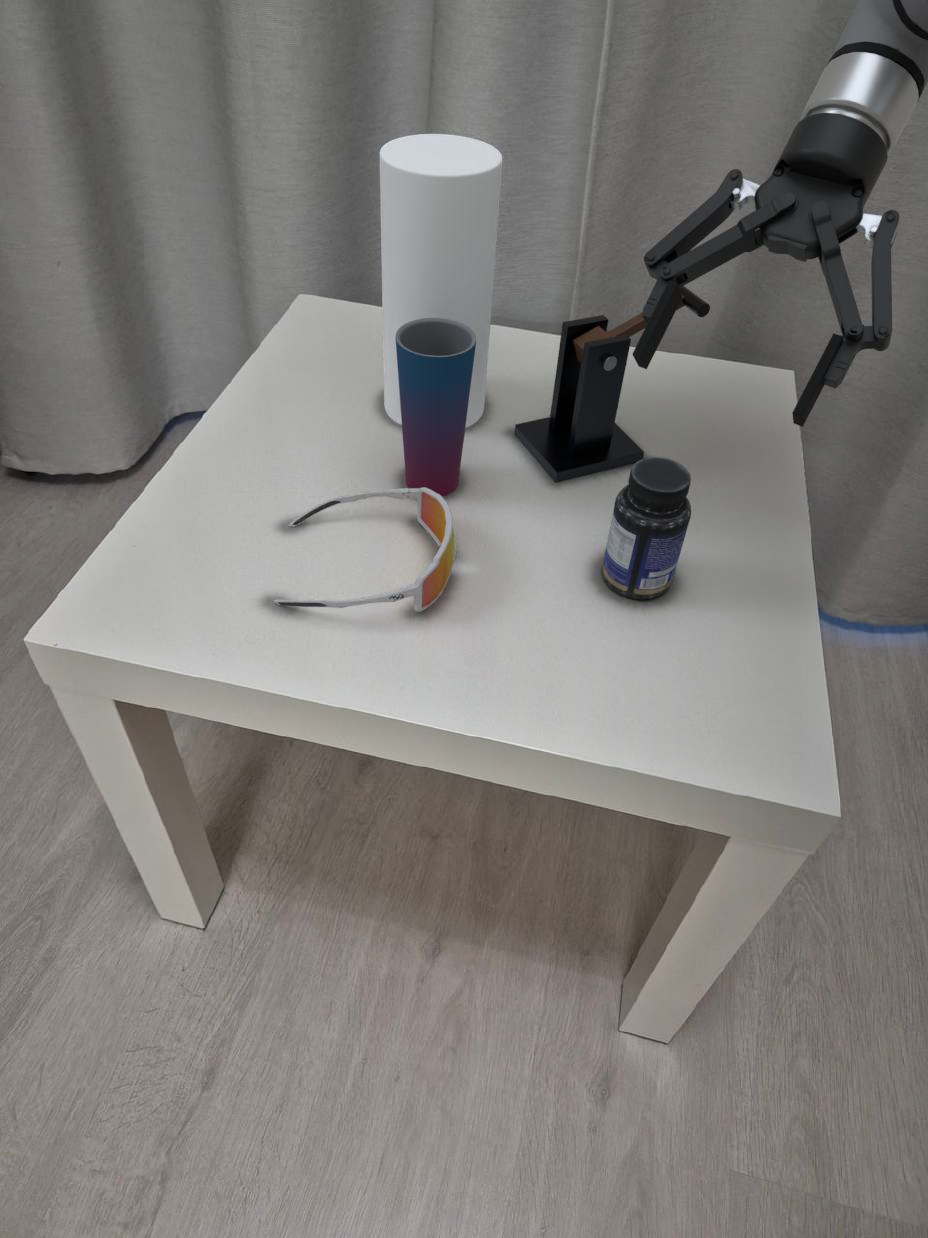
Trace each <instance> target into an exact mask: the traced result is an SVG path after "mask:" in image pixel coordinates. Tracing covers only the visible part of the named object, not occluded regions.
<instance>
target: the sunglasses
mask: <svg viewBox="0 0 928 1238" xmlns="http://www.w3.org/2000/svg"><path fill="white" fill-rule="evenodd" d="M377 497H380V498H381V497H386V498H393V499H398V500H405V499H411V500H416V506H417V507H416V509H417V510H416V511H417V512H416V513H417V514H416V520H417V523H419V524H420V525H421V526H422V528H424V529H425V530H426V532H427V533H428V535H430V537H432V538H433V540H434V541H435V544H437V546H438V548H437V552H436V554H435V555H434V556H433V558H432V562H431V563H430V564H429V566H427V568H426V569H425V570H424V571H423V572H422V573H421V574H420V575H419V576H418V577H417V578H416V579H415V581H414V582H413V583H411V584H408V585H405V586H402V587H399V588H395V589H393V590H389V591H386V592H383V593H379V594H375V595H369V596H364V597H360V598H351V599H341V600H340V599H339V600H335V599H274V600H273V603H275V604H276V605H278V606H281V607H294V608H296V607H297V608H299V607H300V608H330V609H331V608H335V609H344V608H349V607H354V606H361V605H367V604H379V603H396V602H399V601H401V600H404V599H407V598H411V597H413V611H414V612H416V613H420V612H421V613H422V612H423V611H425V610H427V609H428V608H429V607H431V606H432V605H433V604H434V603H435V602H437V600H438V599H439V597H440V596H441V595H442V593H443V592H444V590H445V588H446V587H447V584H448V582H449V580H450V577H451V573H452V572H453V567H454V564H455V560H456V557H457V549H458V543H457V541H455V534H454V526H453V525H454V518H453V515H452V510H451V508H450V506H449V504H448V502H447V501H446V500H445V498H444V496H441V495H440V494H439V493H438V494H437V493H435V492H434V491H432V490H430V489H428V488H426V487H422V488H408V487H403V488H401V487H400V488H388V489H379V490H378V489H377V490H369V491H364V492H359V493H352V494H345V495H339V496H336V497H333V498H330V499H328V500H326V501H323V502H321V503H319V504H317V505H315V506H314V507H312V508H310V509H308V510H307V511H305V512H304V513H302V514H301V515H299V516H298V517H296V518H295V519H293V520H292V521H291V522H289V524H288V526H289V527H291V528H295V527H297V526H299V525H300V524H302V523H303V522H305V521H306V520H308V519H310V518H311V517H313V516H315V515H316V514H319V513H320V512H322V511H325V510H327V509H329V508H331V507H334V506H337V505H342V504H346V503H354V502H359V501H361V500H365V499H371V498H377Z"/></svg>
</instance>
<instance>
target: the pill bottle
mask: <svg viewBox="0 0 928 1238" xmlns="http://www.w3.org/2000/svg"><path fill="white" fill-rule="evenodd" d="M627 481H628V482H627V483H628V484H627V485H625V486H624V487H623V488H622V489H621V490H620V491H619V492H618V493H617V495H616V497H615V501H614V506H613V511H612V516H611V520H610V526H609V531H608V535H607V541H606V546H605V550H604V557H603V560H602V566H601V576H602V579H603V581H604V583H605V584H606V585H607V587H608V588H609V589H610V590H612V591H613V592H614V593H616V594H618V595H620V596H622V597H626V598H630V599H635V600H651V599H652V600H653V599H655V598H658V597H660V596H663V595H664V594H665V593H666V592H667V591H668V590H669V589H670V588H671V585H672V584H673V581H674V576H675V572H676V570H677V566H678V562H679V558H680V555H681V552H682V548H683V545H684V542H685V538H686V534H687V531H688V527H689V524H690V520H691V518H692V517H691V515H692V505H691V502H690V501H689V498H688V494H689V492H690V486H691V482H692V476H691V473H690V471H689V470H688V469H687V467H686V466H684V465H683V464H681V463H679V462H677V461H676V460H673V459H670V458H667V457H660V456H651V457H645V458H643V459H642V460H639V461H637V462H636V463H634V464H632V466H631V469H630V472H629V476H628V480H627Z"/></svg>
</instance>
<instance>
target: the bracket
mask: <svg viewBox="0 0 928 1238" xmlns="http://www.w3.org/2000/svg"><path fill="white" fill-rule="evenodd" d="M608 325H609V318H608V317H606V316H605V315H604V314H600V315H595V316H589V317H583V318H579V319H573V320H572V319H571V320H566V321H563V322H562V325H561V326H562V327H561V333H560V342H559V348H558V356H557V363H556V369H555V376H554V383H553V393H552V400H551V405H550V406H551V407H550V413H549V416H547V417H542V418H539V419H533V420H530V421H525V422H520V423H516V424H514V432H513V434H514V436H515V437H516V438H517V439H518V440H519V441H520V442H521V444H522V445H523V446H524V447H525V448H526V449H527V451H528V452H529V453H530V454H531V456H532V457H533V458H534V459H535V460H536V461H537V462H538V464H539V465H540V466H541V467H542V469H544V471H545V472H546V473H547V474H548V476H550V478H551V479H552V481H554V483H560V482H563V481H567V480H572V479H575V478H581V477H584V476H589V475H593V474H597V473H600V472H605V471H608V470H613V469H617V468H620V467H625V466H629V465H634V464H635V463H636V462H637V461H639V460H642V459H644V455H645V451H644V450H643V449H642V448H641V447H640V446H639V445H638V443H636V442H635V441H634V440H633V438H631V437H630V435H628V434H627V433H626V432H625V431H624V430H623V429H622V427H620V426H619V425H618V424H617V423H616V419H617V414H618V409H619V405H620V404H619V403H620V397H621V393H622V389H623V382H624V377H625V373H626V367H627V363H628V362H627V361H628V358H629V354H630V353H629V352H630V349H631V341H632V339H631V338H630V337H628V336H627V335H621V336H615V337H610V338H605V339H600V340H594V341H589V342H585V343H584V349H583V356H582V362H581V363H580V362H579V361H578V360H577V355H576V351H575V347H574V342H573V340H574V339H576V338H578V337H579V336H581V335H583V334H585V333H587V332H588V331H590V330H592V329H594V328H595V327H597V326H599V327H601V328H602V329H603V330H604V331H605V332H606V333H607V332H608Z"/></svg>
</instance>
